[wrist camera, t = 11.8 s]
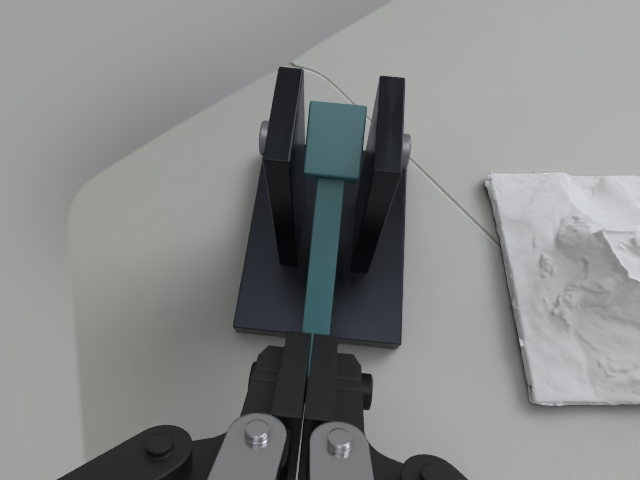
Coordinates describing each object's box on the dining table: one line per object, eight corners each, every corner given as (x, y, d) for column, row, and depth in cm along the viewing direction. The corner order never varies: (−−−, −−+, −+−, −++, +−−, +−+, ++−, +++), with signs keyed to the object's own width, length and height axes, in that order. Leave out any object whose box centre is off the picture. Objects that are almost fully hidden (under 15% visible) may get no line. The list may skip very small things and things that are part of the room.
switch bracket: (397, 349, 26) (460, 281, 15) (235, 332, 26) (183, 252, 15) (403, 164, 31) (455, 12, 20) (267, 151, 31) (244, -7, 20)
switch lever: (366, 398, 21) (371, 421, 18) (254, 386, 21) (244, 407, 18) (395, 122, 20) (403, 109, 18) (280, 112, 20) (273, 97, 18)
